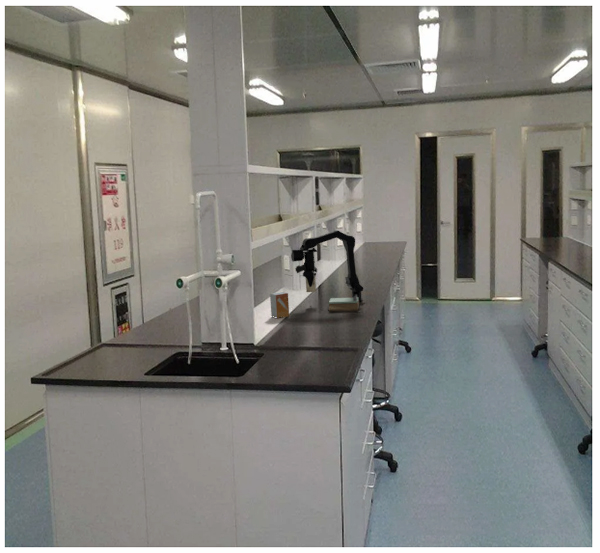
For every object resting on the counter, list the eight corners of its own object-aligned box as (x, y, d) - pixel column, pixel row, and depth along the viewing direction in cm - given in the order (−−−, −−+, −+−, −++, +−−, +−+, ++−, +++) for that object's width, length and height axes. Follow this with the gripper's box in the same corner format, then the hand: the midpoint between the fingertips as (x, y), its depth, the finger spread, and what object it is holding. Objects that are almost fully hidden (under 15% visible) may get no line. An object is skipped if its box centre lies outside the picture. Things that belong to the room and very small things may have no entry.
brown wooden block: (307, 290, 352) (306, 275, 351) (315, 290, 352) (314, 275, 350) (306, 292, 348) (305, 277, 347) (314, 291, 347) (314, 276, 346)
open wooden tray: (331, 307, 343) (330, 300, 343) (358, 306, 341) (358, 299, 340) (329, 311, 331) (328, 304, 331) (357, 310, 329) (357, 303, 328)
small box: (277, 318, 321) (275, 294, 319) (271, 317, 326) (269, 293, 324) (289, 316, 325) (288, 292, 323) (283, 314, 330) (282, 291, 329)
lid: (330, 299, 342) (330, 294, 342) (358, 299, 340) (358, 293, 340) (328, 303, 331) (328, 298, 331) (357, 302, 329) (357, 297, 328)
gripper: (298, 258, 357) (299, 284, 360) (293, 262, 339) (295, 289, 341) (316, 257, 356) (318, 283, 358) (312, 261, 337) (314, 288, 340)
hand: (311, 286), depth 349 cm, fingers closed on brown wooden block, 4 cm apart
